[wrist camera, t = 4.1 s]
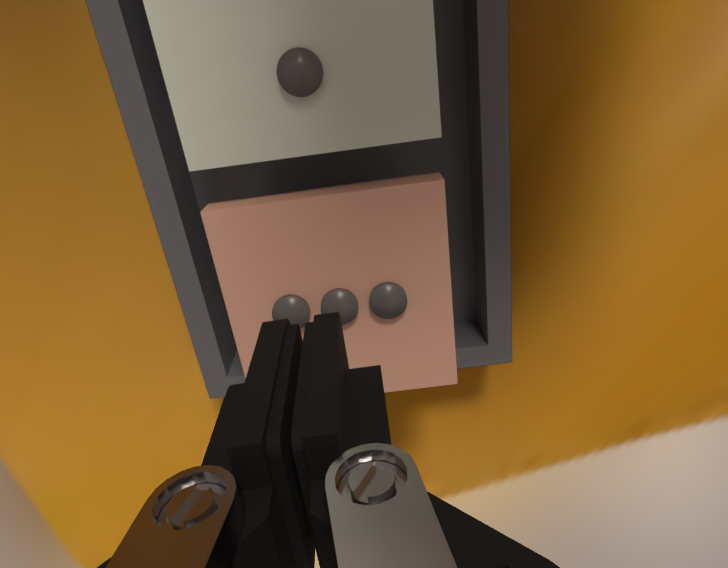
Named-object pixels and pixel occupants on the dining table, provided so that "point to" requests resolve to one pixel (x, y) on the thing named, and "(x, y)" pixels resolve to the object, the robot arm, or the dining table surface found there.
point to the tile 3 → (345, 271)
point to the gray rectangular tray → (335, 177)
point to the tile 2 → (295, 76)
